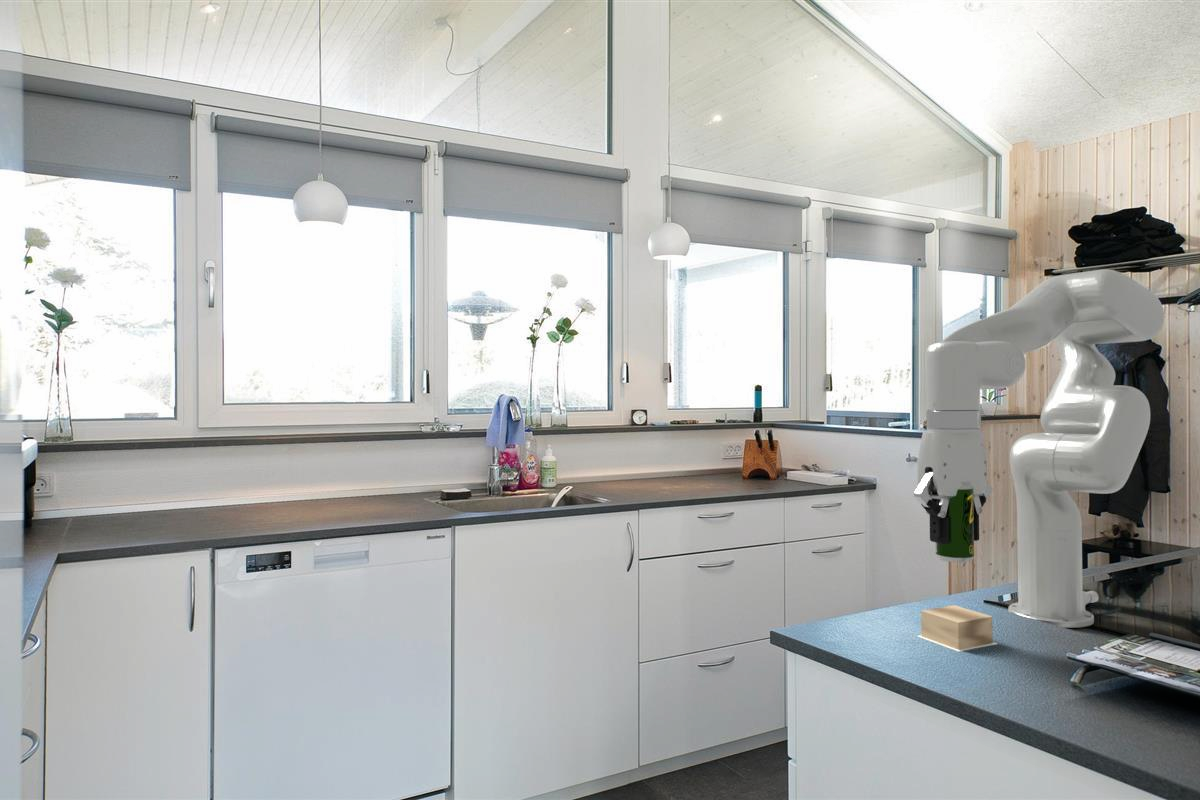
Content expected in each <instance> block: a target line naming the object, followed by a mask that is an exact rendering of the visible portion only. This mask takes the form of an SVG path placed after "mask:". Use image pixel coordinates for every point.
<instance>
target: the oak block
mask: <svg viewBox="0 0 1200 800" xmlns="http://www.w3.org/2000/svg"><path fill="white" fill-rule="evenodd" d="M920 619H921V620H920V621H921V622H920V625H921V627H920V629H921V631H920V632H921V634H920V635H922V637H925V638H927V639H930V640H933V641H936V642H938V643H941V644H944V645H947V646H949V647H952V648H955V649H957V650H960V649H965V648H970V647H976V646H981V645H986V644H991V643H993V642H994V637H993V635H994V634H993V633H994V632H993V627H994V626H993V623H994V622H993V616H992V615H988V614H986V613H981V612H979V611H975V610H972V609H969V608H965V607H962V606H959V605H954V604H953V605H947V606H943V607H942V606H941V607H935V608H929V609H923V610H921V611H920Z"/></svg>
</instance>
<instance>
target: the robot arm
mask: <svg viewBox="0 0 1200 800" xmlns="http://www.w3.org/2000/svg"><path fill="white" fill-rule="evenodd" d="M1164 323H1165V310H1164V306H1163V305H1162V302H1161V300H1160V299H1159V298H1158V296H1156V294H1155V293H1154V292H1152V291H1151V290H1149V289H1148V288H1147V287H1145V286H1144V285H1142V284H1141V283H1139V282H1138V281H1136V280H1135V279H1134V278H1132V277H1130V276H1128V275H1126V274H1124V273H1122V272H1120V271H1117V270H1113V269H1108V268H1106V269H1105V268H1103V269H1097V270H1091V271H1090V270H1088V271H1084V272H1083V271H1082V272H1074V273H1067V274H1066V273H1065V274H1060V275H1054V276H1052V277H1050V278H1047V279H1045V280H1044V281H1042V282H1041V283H1039V284H1038V285H1036V286H1035V288H1033V289H1032V290H1030V291H1029V292H1028V293H1027V294H1025V295H1024V296H1023V297H1022V298H1020V299H1019V300H1018V301H1017V302H1015V303H1014V304H1013V305H1012V306H1010V307H1009V308H1006V309H1003V310H1001V311H997V312H995V313H993V314H991V315H989V316H986V317H984V318H981V319H979V320H976V321H974V322H972V323H969V324H967V325H965V326H963V327H960V328H958V329H957V330H955V331H953V332H952V333H950V334H949V335H948V336H946V337H945V338H944V339H943V340H941V341H939V342H934V343H932V344H930V345H928V347H927V348H926V351H925V392H926V393H925V396H926V397H925V401H926V402H925V403H926V404H925V405H926V407H925V409H926V413H925V414H926V415H925V416H926V431H922V434H921V435H922V436H921V439H920V444H919V450H918V460H917V461H918V462H917V480H916V481H917V482H916V483H917V485H916V486H917V488H916V489H915V491H914V493H913V497H914V499H916V500H917V501H918V502H919V503H920V506H922V508H923V509H924V510H925V514H926V516H928V517H929V541H931V542H932V543H935V544H936V543H941V544H949V518H948V517H945V516H946V512H947V508H948V504H949V499H950V498H952V497H954V496H956V493H957V490H958V489H959V488H960V487H961V485H963V484H961V483H963V482H971V484H970V485H971V486H972V487H973V497H974V542H976V541H980V515H981V514H982V513H983V507H984V505H985V504H986V502H987V499H988V498H989V496H990V495H991V494H992V493H993V491H994V490H993V487H992V485H991V484H990V483H989V481H988V468H987V467H988V466H987V454H986V446H985V441H984V435H983V432H982V431H981V430H982V429H981V421H982V416H981V390H1000V389H1007V388H1009V387H1012V386H1014V385H1015V384H1017V383H1018V382H1019V381H1020V380H1021V379H1022V377H1023V376H1024V374H1025V370H1026V359H1025V355H1026V354H1029V353H1033V352H1037V351H1039V350H1042V349H1044V348H1046V347H1047V346H1049V345H1050V343H1052V341H1054V340H1055V342H1056V346H1057V350H1058V352H1059V357H1060V358H1059V359H1060V361H1061V363H1060V364H1061V367H1060V370H1059V374H1058V376H1057V377H1056V379H1055V382H1054V383H1053V386H1052V388H1051V390H1050V392H1049V394H1048V396H1047V398H1046V399H1045V403H1044V405H1043V407H1042V410H1041V411H1040V413H1041V414H1040V425H1041V427H1042V429H1043V432H1034V433H1028V434H1026V435H1023V436H1021V437H1020V438H1018V439H1016V440H1015V441H1014V443H1013V444H1012V446H1011V447H1010V452H1009V465H1010V471H1011V475H1012V480H1013V485H1014V490H1015V498H1016V517H1017V519H1016V520H1017V522H1016V523H1017V526H1016V528H1017V529H1016V531H1017V533H1016V536H1017V537H1016V538H1017V539H1016V540H1017V587H1018V588H1017V593H1018V595H1017V599H1018V601H1016V602H1014V603H1012V604H1009V606H1008V611H1007V612H1008V613H1011V614H1014V615H1015V614H1016V615H1017V616H1021V617H1024V618H1027V619H1030V620H1034V621H1035V620H1036V621H1038V622H1039V621H1040V622H1043V623H1046V624H1050V625H1053V626H1056V627H1060V628H1063V629H1075V628H1076V629H1079V628H1086V627H1090V626H1092V625H1093V624H1094V623H1095V616H1094V614H1093V613H1092V612H1090V611H1089V610H1087V609H1086V606H1087V605H1088V604H1090V603H1091V604H1092V603H1096V602H1098V601H1099V600H1100V599H1099V597H1100V596H1099V594H1098V593H1097V592H1096V591H1094V590H1089V591H1085V590H1083V540H1082V539H1083V538H1082V533H1083V532H1082V531H1083V530H1082V527H1083V525H1082V515H1081V512H1080V509H1079V507H1078V506H1077V504H1076V503H1075V501H1074V500H1073V498H1072V497H1071V495H1070V494H1069V492H1079V493H1087V494H1102V495H1104V494H1106V495H1107V494H1113V493H1116V492H1118V491H1120V490H1121V489H1123V488H1124V486H1125V484H1126V483H1127V481H1128V480H1129V478H1130V475H1131V473H1132V471H1133V468H1134V466H1135V464H1136V461H1137V459H1138V456H1139V453H1140V451H1141V449H1142V447H1143V445H1144V442H1145V440H1146V437H1147V434H1148V431H1149V428H1150V424H1151V407H1150V402H1149V400H1148V398H1147V397H1146V395H1145V393H1143V391H1141V390H1140V389H1138V388H1136V387H1134V386H1129V385H1122V384H1121V385H1117V384H1116V385H1115V384H1114V383H1115V381H1116V371H1115V369H1114V367H1113V365H1112V364H1111V362H1110V361H1109V360H1108V358H1106V356H1104V355H1103V353H1101V352H1100V351H1099V350H1098V348H1097V346H1096V345H1102V344H1103V345H1104V344H1120V343H1135V342H1144V341H1145V342H1146V341H1149V340H1152V339H1153V338H1155V337H1156V336H1157V335H1158V334H1159V333H1160V332H1161V331H1162V330H1163V327H1164ZM937 494H938V495H937ZM937 500H940V504H939V506H938V505H937Z"/></svg>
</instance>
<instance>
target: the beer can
mask: <svg viewBox="0 0 1200 800" xmlns="http://www.w3.org/2000/svg"><path fill="white" fill-rule="evenodd" d="M961 484H963V485H961V487H960V488H959V489H958V490H957V493H956V496H954V497H952V498H950V499H949V504H948V508H947V512H946V516H945V517H948V518H949V544H941V543H936V542H935V555H936V557H937V559H938V560H940V561H942V562H943V561H944V562H946V563H947V562H948V563H949V562H950V563H960V564H963V563H970V562H973V559H974V557H975V541H974V497H973V487H972V486H971V485H970V484H971V482H963V483H961ZM937 495H938V494H937ZM939 504H940V500H937V505H938V506H939Z"/></svg>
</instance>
